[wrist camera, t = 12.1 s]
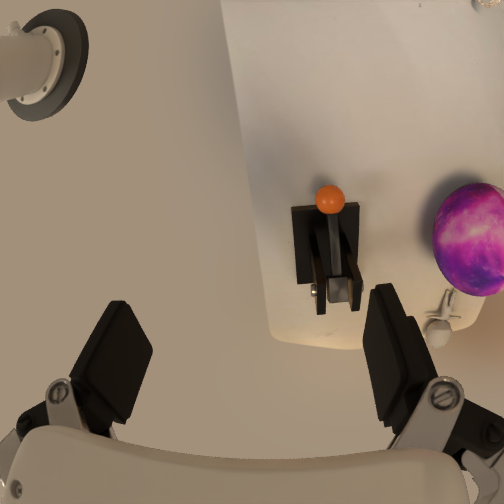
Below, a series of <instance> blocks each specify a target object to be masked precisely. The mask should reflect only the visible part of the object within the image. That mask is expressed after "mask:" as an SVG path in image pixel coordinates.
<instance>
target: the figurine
mask: <svg viewBox="0 0 504 504" xmlns="http://www.w3.org/2000/svg"><path fill="white" fill-rule="evenodd" d="M449 293H450V291H449V290H446V293H445V297H444V300H443V303H442V310H441V313H440V315H430V316H426V317H427V318H436V319H439V320H435V321H434V322H432V323H431V324H429V326H428V327H427V329H426V330H427V331H426V338H427V343H428V344H429V345H431V346H432V347H435V348H440V347H443V346H444V345H446V344H447V343H448V341H449V339H450V337H451V333H452V329H451V326H450V323H449V322H448V321H446V320H449V319H454V318H458V319H460V318H461V317H460V316H452V315H450V313H451V311H452V309H453V305H454V300H455V295H456V293H457V291H456V290H453V293H452V296H451V298H450V300H449V303H448V295H449Z"/></svg>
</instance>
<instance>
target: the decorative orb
mask: <svg viewBox="0 0 504 504" xmlns="http://www.w3.org/2000/svg"><path fill="white" fill-rule="evenodd" d="M432 242H433V251H434V255H435V259H436V262H437V264H438V267H439V269H440V270H441V272H442V274H443V275H444V277H445V278H446V279H447V280H448V281H449V283H450V284H452V285H453V286H454V287H455V288H457V289H458V290H460V291H461V292H464V293H466V294H469V295H472V296H489V295H493V294H496V293H498V292H500V291H502V290H504V191H503V190H502V189H500V188H498V187H496V186H494V185H490V184H486V183H473V184H468V185H465V186H463V187H461V188H459V189H457V190H456V191H454V192H453V193H452V194H451V195H449V197H448V198H447V199H446V200H445V201H444V202H443V204H442V205H441V207H440V209H439V211H438V213H437V216H436V219H435V222H434V227H433V235H432Z"/></svg>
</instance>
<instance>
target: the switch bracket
mask: <svg viewBox="0 0 504 504" xmlns="http://www.w3.org/2000/svg"><path fill="white" fill-rule="evenodd" d="M359 209H360V206H359V204H358V202H353V203H345V204H344V207H343V208H342V210H341V211H340V212H338V213H337V219H338V229H339V241H340V254H341V270H342V274H344V275H346V276H347V277H348V295H349V304H350V308H351V311H359V310H360V303H361V295H362V292H363V290H364V285H363V280H362V277H361V274H360V271H359V268H358V266H357V258H358V240H359ZM291 211H292V222H293V234H294V246H295V259H296V272H297V284H308V283H313V284H311V296H312V297H314V296H315V303H316V311H317V315H322V314H326V276H329V275H331V263H330V249H329V237H328V225H327V215H326V214H324V213H322V212H321V211H320V210H319V209H318V207H317V205H310V206H298V207H291Z"/></svg>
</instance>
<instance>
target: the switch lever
mask: <svg viewBox="0 0 504 504" xmlns="http://www.w3.org/2000/svg"><path fill="white" fill-rule="evenodd" d="M315 202H316V205H317V207H318V209H319V210H320V211H321V212H322V213H324V214H326V215H327V225H328V237H329V249H330V263H331V275H329V276H326V286H327V300H328V301H329V303H338V302H348V301H349V295H348V277H347V276H346V275H344V274H342V270H341V254H340V241H339V229H338V219H337V213H338V212H340V211H341V210H342V208H343V207H344V204H345V196H344V194H343V192H342V191H341V189H340V188H338V187H337V186H334V185H326V186H323V187H321V188H320V189H319V190H318V192H317V194H316V197H315Z"/></svg>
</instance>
